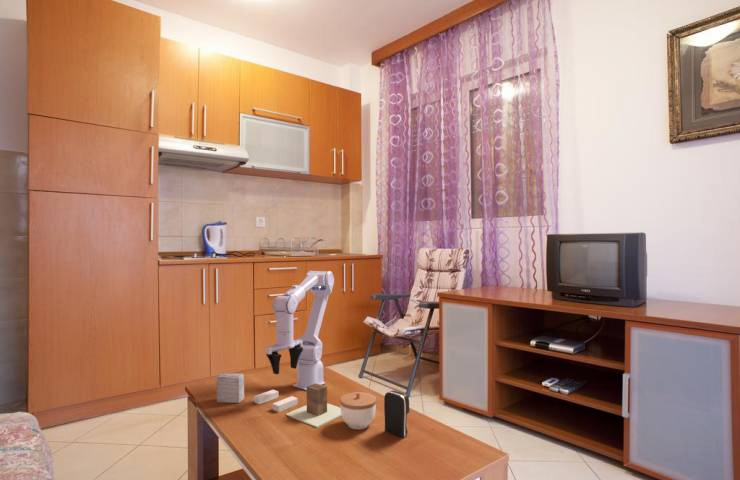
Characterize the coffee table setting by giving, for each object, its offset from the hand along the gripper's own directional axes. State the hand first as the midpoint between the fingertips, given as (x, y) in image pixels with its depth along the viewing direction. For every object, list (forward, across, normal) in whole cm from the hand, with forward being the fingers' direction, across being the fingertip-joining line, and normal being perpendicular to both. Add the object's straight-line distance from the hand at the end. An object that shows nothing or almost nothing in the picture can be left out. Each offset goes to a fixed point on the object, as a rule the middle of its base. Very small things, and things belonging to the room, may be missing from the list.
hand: (285, 370), depth 140 cm
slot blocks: (+10, -4, 0) cm, 11 cm away
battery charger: (+10, +4, -44) cm, 45 cm away
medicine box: (+10, -12, +14) cm, 21 cm away
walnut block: (+10, -1, -17) cm, 19 cm away
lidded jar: (+10, +1, -32) cm, 34 cm away
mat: (+10, -1, -17) cm, 20 cm away
